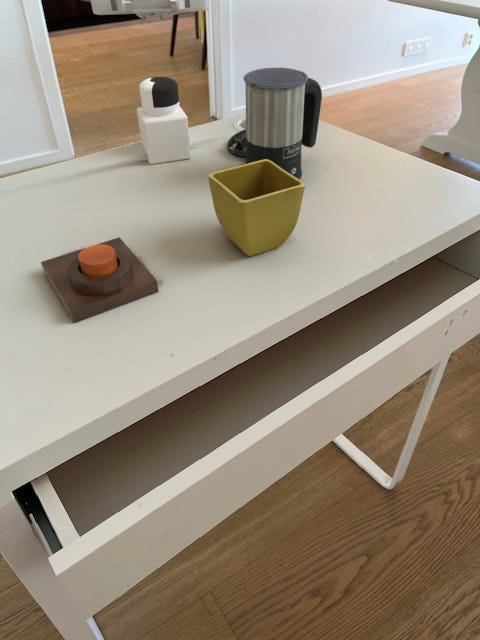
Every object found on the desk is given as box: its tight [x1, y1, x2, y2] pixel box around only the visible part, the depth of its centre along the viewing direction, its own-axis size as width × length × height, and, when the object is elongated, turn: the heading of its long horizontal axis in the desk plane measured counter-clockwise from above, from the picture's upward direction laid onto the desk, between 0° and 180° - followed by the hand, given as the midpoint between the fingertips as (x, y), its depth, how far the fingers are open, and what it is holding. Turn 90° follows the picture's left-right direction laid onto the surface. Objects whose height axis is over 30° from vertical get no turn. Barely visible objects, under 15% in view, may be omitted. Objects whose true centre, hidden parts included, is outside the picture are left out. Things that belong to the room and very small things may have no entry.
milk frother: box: [226, 67, 323, 180], centre depth 79 cm, size 14×16×15 cm
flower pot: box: [207, 159, 306, 257], centre depth 63 cm, size 9×9×9 cm
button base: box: [40, 237, 160, 324], centre depth 59 cm, size 11×10×4 cm
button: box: [78, 243, 118, 277], centre depth 57 cm, size 4×4×2 cm
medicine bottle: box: [136, 76, 192, 165], centre depth 84 cm, size 7×7×12 cm
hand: (150, 6), depth 84 cm, fingers open, 6 cm apart
